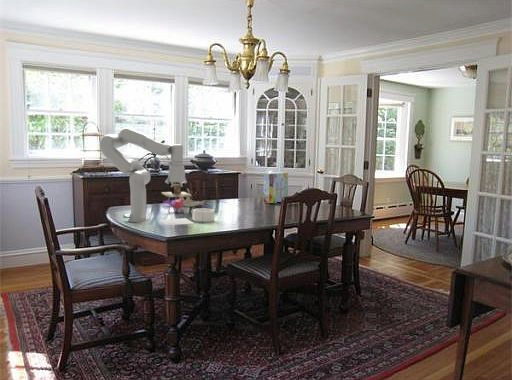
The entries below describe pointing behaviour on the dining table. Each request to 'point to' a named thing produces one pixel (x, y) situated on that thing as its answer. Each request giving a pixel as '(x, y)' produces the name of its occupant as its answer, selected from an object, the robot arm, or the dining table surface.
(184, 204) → the jawbone
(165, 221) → the grey mat
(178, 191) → the birch lid
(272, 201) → the snack box
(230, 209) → the dining table surface
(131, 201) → the robot arm
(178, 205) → the heart model
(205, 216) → the ceramic bowl
